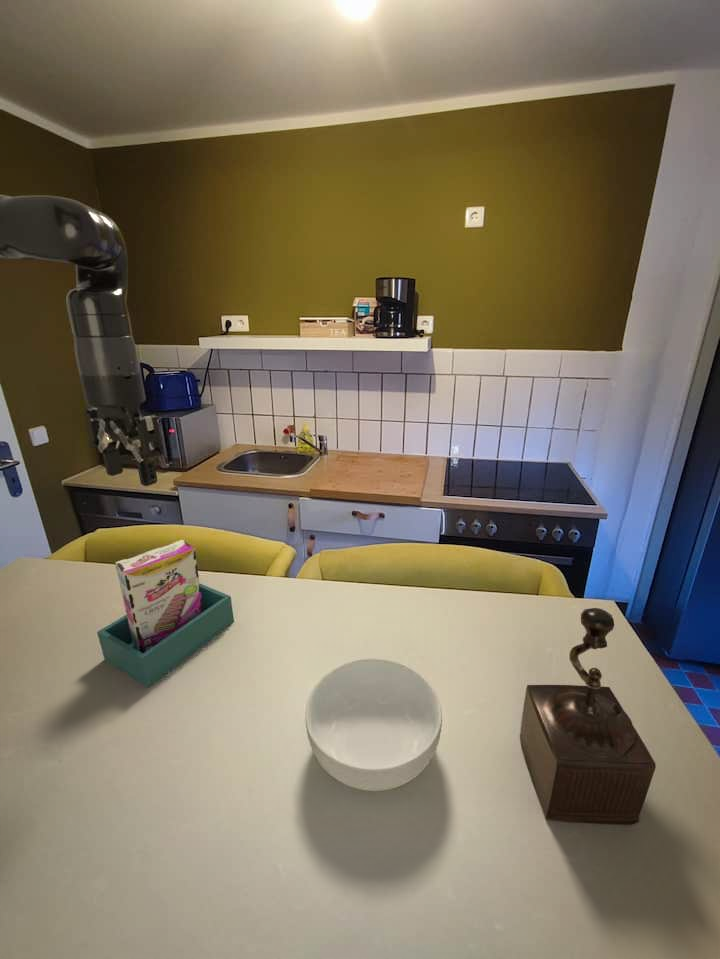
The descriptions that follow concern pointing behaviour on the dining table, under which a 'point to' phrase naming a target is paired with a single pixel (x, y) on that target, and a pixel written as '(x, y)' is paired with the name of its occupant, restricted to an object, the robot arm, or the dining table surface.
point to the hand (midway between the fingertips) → (132, 479)
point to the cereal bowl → (373, 723)
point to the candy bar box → (160, 592)
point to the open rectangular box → (166, 640)
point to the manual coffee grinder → (585, 744)
